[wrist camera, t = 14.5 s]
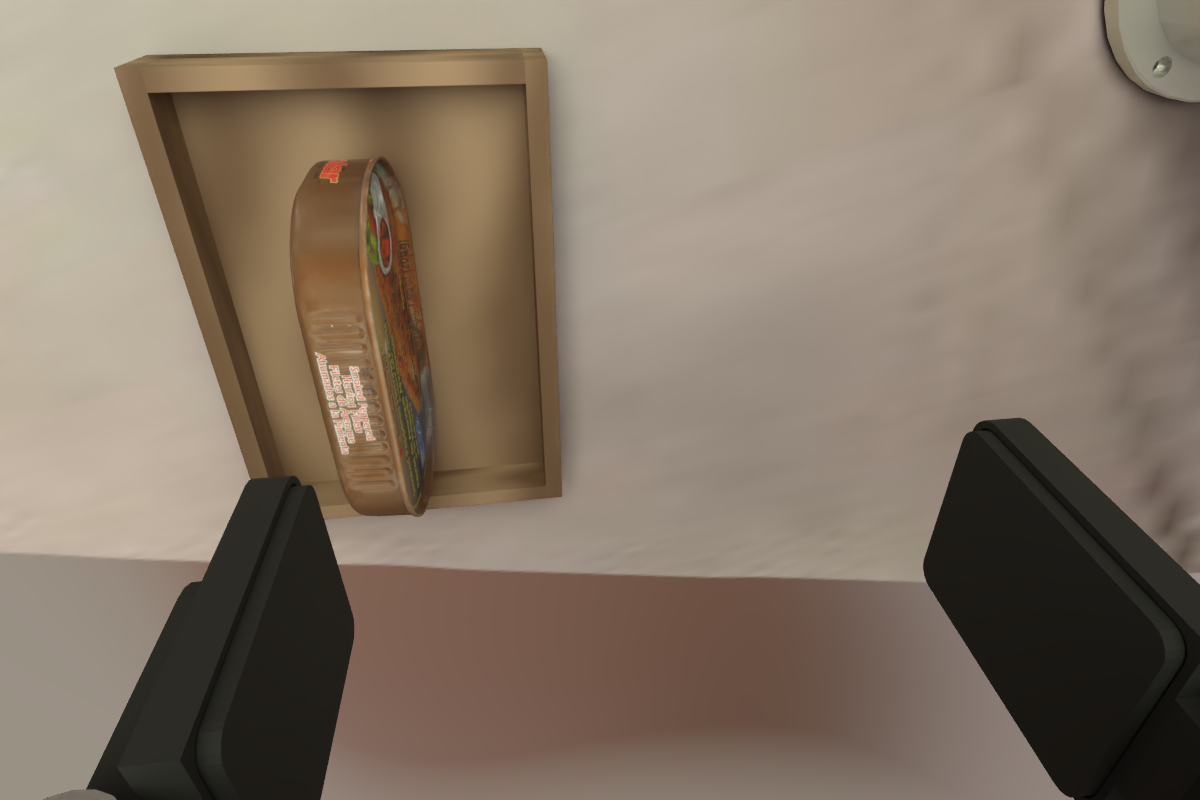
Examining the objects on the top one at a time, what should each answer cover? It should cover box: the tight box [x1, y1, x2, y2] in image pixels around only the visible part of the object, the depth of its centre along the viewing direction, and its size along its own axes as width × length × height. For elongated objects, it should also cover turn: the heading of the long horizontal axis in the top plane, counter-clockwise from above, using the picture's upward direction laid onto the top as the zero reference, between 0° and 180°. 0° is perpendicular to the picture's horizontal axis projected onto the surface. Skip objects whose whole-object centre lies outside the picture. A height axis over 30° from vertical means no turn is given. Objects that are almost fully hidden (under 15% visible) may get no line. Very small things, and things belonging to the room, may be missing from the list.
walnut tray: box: [114, 48, 562, 519], centre depth 32 cm, size 15×21×3 cm
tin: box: [290, 156, 435, 517], centre depth 29 cm, size 15×3×8 cm, turn 0°
